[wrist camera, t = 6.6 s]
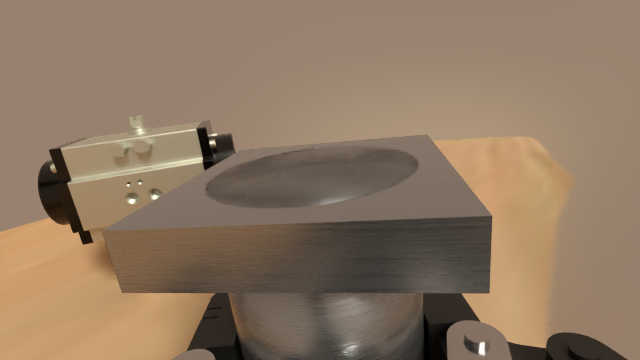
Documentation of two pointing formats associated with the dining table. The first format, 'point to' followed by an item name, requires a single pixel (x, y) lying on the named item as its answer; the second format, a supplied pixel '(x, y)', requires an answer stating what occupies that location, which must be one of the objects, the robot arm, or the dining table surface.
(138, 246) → the grey column pedestal
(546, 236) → the dining table surface
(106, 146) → the pneumatic valve
